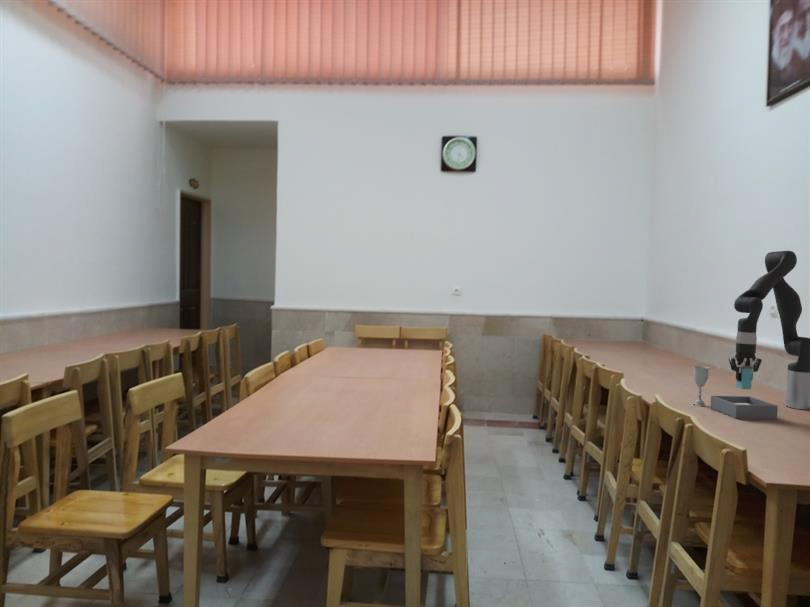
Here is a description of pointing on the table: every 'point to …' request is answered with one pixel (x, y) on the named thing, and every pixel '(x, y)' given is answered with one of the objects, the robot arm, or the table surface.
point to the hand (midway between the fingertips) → (743, 380)
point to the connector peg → (745, 378)
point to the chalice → (700, 381)
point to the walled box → (744, 407)
